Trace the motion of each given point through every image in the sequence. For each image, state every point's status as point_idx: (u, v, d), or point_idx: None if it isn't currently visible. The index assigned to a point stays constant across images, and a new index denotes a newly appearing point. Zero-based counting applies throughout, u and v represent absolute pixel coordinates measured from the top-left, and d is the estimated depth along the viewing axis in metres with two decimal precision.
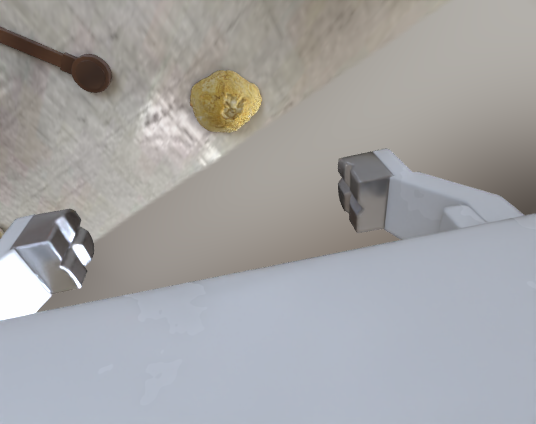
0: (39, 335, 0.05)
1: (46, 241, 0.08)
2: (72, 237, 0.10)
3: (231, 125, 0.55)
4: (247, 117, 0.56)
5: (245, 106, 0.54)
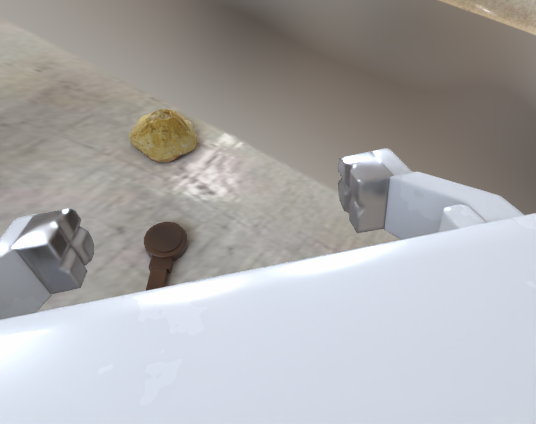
0: (39, 335, 0.05)
1: (46, 241, 0.08)
2: (72, 237, 0.10)
3: (177, 114, 0.53)
4: None
5: (156, 111, 0.54)
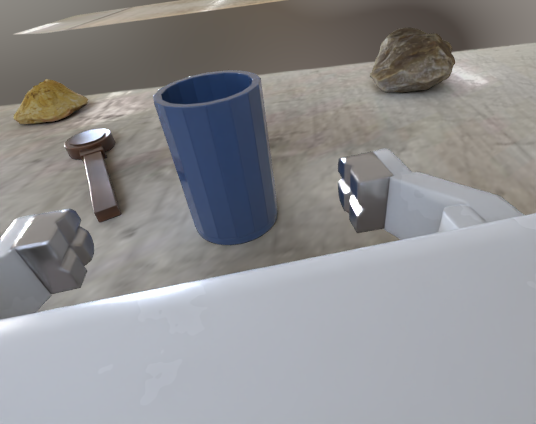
0: (39, 335, 0.05)
1: (46, 241, 0.08)
2: (72, 237, 0.10)
3: None
4: None
5: None
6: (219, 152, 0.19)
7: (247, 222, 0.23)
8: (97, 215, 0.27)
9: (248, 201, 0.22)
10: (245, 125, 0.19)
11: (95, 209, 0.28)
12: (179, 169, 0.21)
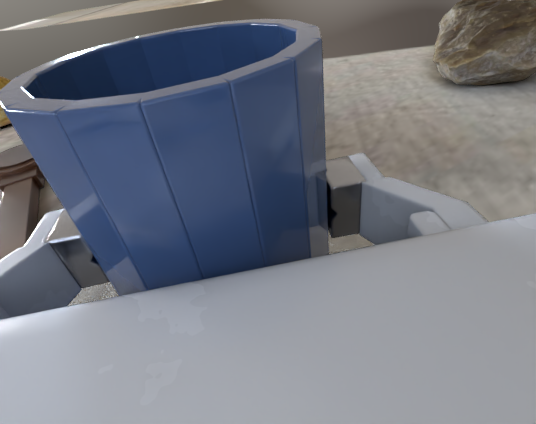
0: (39, 335, 0.05)
1: None
2: None
3: None
4: None
5: None
6: (201, 249, 0.06)
7: None
8: None
9: None
10: (282, 165, 0.06)
11: None
12: None
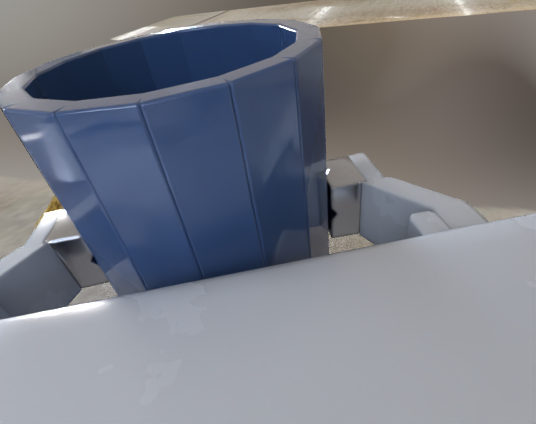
0: (40, 335, 0.05)
1: None
2: None
3: None
4: None
5: None
6: (201, 250, 0.06)
7: None
8: None
9: None
10: (282, 166, 0.06)
11: None
12: None
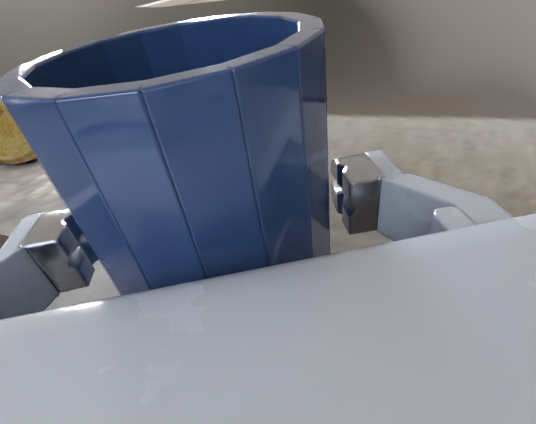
0: (39, 335, 0.05)
1: (55, 239, 0.08)
2: (80, 235, 0.10)
3: None
4: None
5: None
6: (202, 242, 0.06)
7: None
8: None
9: None
10: (284, 157, 0.06)
11: None
12: (101, 264, 0.08)
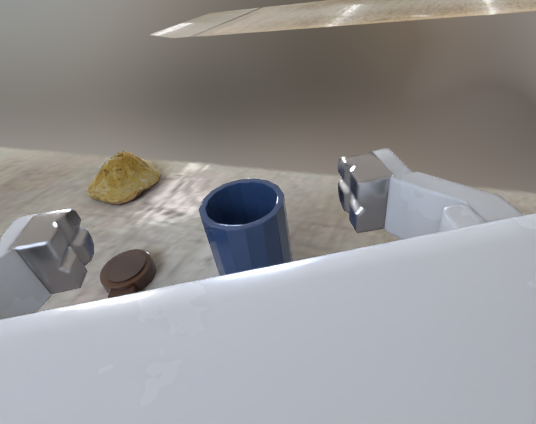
0: (39, 335, 0.05)
1: (46, 241, 0.08)
2: (72, 237, 0.10)
3: None
4: None
5: (111, 159, 0.51)
6: (253, 257, 0.24)
7: None
8: None
9: None
10: (273, 236, 0.24)
11: None
12: (218, 263, 0.26)
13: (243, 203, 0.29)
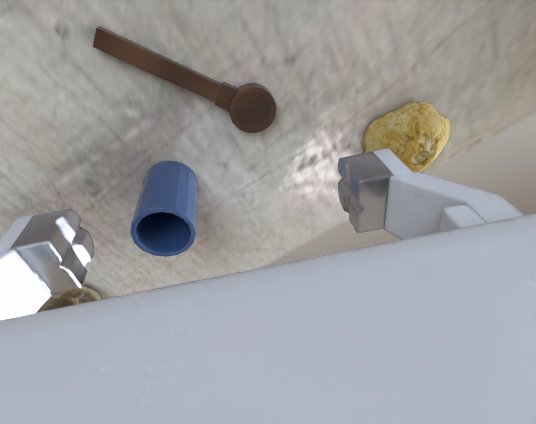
0: (40, 335, 0.05)
1: (46, 241, 0.08)
2: (72, 237, 0.10)
3: (416, 171, 0.42)
4: None
5: (438, 147, 0.42)
6: (136, 209, 0.36)
7: None
8: (97, 28, 0.31)
9: None
10: None
11: (102, 32, 0.31)
12: (160, 186, 0.36)
13: None
